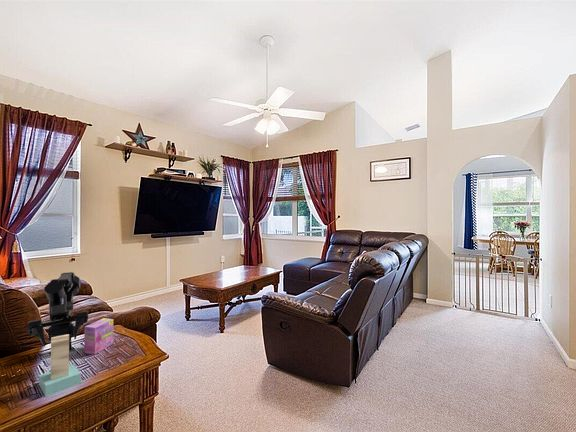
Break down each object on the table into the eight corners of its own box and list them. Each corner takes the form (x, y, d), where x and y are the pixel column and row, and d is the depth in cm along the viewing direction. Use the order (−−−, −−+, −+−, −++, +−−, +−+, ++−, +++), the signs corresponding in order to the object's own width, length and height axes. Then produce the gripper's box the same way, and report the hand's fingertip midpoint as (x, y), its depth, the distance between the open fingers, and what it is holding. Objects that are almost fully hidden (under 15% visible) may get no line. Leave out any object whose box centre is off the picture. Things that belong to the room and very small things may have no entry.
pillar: (51, 373, 105) (51, 337, 105) (68, 368, 108) (68, 334, 108) (50, 379, 101) (51, 342, 101) (68, 375, 104) (69, 339, 104)
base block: (45, 397, 98) (45, 385, 98) (39, 386, 104) (39, 375, 104) (81, 384, 105) (80, 373, 105) (73, 374, 112) (72, 363, 112)
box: (95, 354, 126) (94, 327, 126) (84, 353, 127) (83, 326, 127) (114, 343, 136) (113, 318, 136) (103, 342, 137) (103, 317, 137)
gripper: (27, 300, 109) (26, 339, 101) (87, 291, 121) (91, 325, 113) (27, 315, 115) (27, 353, 107) (85, 305, 127) (88, 339, 119)
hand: (60, 342), depth 111 cm, fingers open, 9 cm apart
